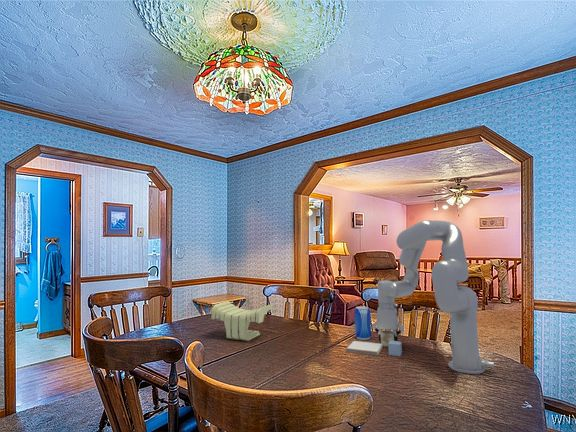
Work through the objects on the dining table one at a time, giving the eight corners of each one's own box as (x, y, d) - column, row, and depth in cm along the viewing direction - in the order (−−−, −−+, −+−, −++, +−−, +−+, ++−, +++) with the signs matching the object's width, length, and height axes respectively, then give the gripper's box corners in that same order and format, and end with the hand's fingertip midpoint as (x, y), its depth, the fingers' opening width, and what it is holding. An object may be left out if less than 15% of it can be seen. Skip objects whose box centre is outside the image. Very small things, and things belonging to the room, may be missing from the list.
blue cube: (401, 352, 150) (401, 341, 150) (400, 356, 145) (399, 344, 146) (390, 351, 152) (390, 340, 153) (388, 354, 148) (388, 343, 148)
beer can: (373, 340, 170) (371, 308, 171) (356, 340, 170) (355, 309, 171) (369, 336, 178) (368, 305, 180) (354, 336, 178) (352, 306, 180)
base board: (382, 346, 159) (382, 343, 159) (377, 355, 146) (376, 352, 147) (354, 343, 165) (354, 340, 165) (346, 352, 153) (346, 348, 153)
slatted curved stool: (211, 338, 181) (211, 305, 183) (228, 331, 196) (228, 300, 197) (259, 343, 169) (258, 308, 171) (273, 335, 184) (272, 303, 185)
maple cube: (395, 343, 163) (395, 331, 164) (393, 347, 158) (393, 334, 158) (383, 342, 166) (382, 330, 166) (381, 345, 160) (380, 333, 161)
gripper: (405, 305, 163) (407, 343, 161) (370, 303, 171) (372, 339, 169) (403, 308, 156) (406, 347, 155) (367, 306, 164) (369, 343, 162)
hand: (388, 342), depth 162 cm, fingers closed on maple cube, 6 cm apart
